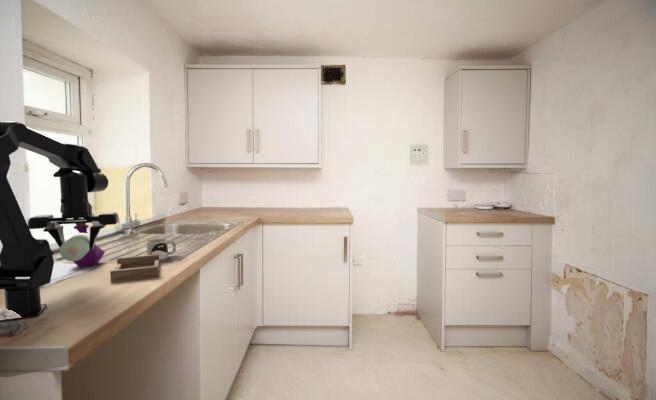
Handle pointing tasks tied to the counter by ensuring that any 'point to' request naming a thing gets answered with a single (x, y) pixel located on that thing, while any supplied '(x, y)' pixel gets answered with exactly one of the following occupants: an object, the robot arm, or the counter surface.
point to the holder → (138, 272)
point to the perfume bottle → (91, 256)
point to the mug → (160, 248)
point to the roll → (75, 247)
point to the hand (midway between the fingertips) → (78, 251)
